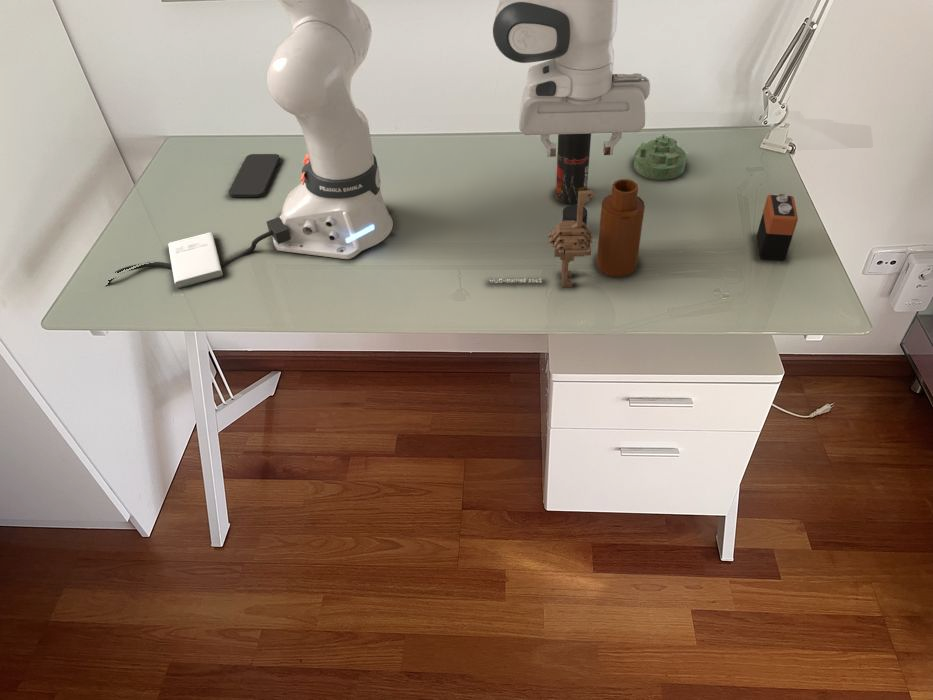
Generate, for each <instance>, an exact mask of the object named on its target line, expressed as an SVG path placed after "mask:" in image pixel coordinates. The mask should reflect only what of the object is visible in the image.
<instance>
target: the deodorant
mask: <svg viewBox="0 0 933 700" xmlns="http://www.w3.org/2000/svg"><path fill="white" fill-rule="evenodd" d="M591 140H592V133H591V134H557V153H556V179H555V180H556V184H555V198H556V200H557V201H558V202H560V203H561V204H564V205H568V206H569V205H578V191H586V190H588V183H589V181H588V180H589V167H590V156H591V154H590V153H591Z"/></svg>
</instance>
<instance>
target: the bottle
mask: <svg viewBox="0 0 933 700" xmlns="http://www.w3.org/2000/svg"><path fill="white" fill-rule="evenodd" d="M638 193H639V184H638V182H636V181H635V180H633V179H630V178H629V179H628V178H620V179H618V180H614V182H613V183H612V185H611V194H608V195H606V197H604V198H603V199H602V201H601V209H600V219H599V231H598V241H597V253H596V267H597V268H598V270H599V271H600V272H601V273H603V274H605V275H607V276H610V277H615V278H616V277H625V276H628V275H631V274H632V273H634V271H635V270H636V269H637V265H638V257H639V251H640V243H641V236H642V230H643V222H644V217H645V216H644V215H645V207H646V206H645V201H644V200H643V199H642V198H641V197H640V196H638Z"/></svg>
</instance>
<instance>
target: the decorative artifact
mask: <svg viewBox="0 0 933 700" xmlns="http://www.w3.org/2000/svg"><path fill="white" fill-rule="evenodd" d="M677 142H678V141H677V140H676V139H674V138H671V137H669V136H666V135H665V134H662V135H661V136H658V137H656V138H654V139H652V140H649V141H647V142H643V141H642V142H641V144H640V146H639V147H637V149H636V150H635V152H634V158H633V169H634V170H635V172H636V173H637V174H639V175H640V176H642V177H644V178H647V179H650V180H656V181H668V180H673V179H675V178H678V177H679V176H681V175H682V174H683V173H684V171H685V167H686V163H687V162H686V161H687V153H686V152H685V150H684V149H683V148H682V147H680V146H678V144H677Z"/></svg>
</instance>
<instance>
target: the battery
mask: <svg viewBox="0 0 933 700" xmlns="http://www.w3.org/2000/svg"><path fill="white" fill-rule="evenodd" d="M798 220H799V215H798V211H797V206H796V201H795V197H794V196H793V195H788V194H786V193H783V192H781V193H778V194H768V195H767V196H766V200H765V204H764V207H763V211H762V215H761V218H760V221H759V226H758V229H757V232H756V243H757V252H758V257H759V259H760V260H769V261H785V260H786V259H787V255H788V252H789V249H790V246H791V242H792V239H793V237H794V233H795V231H796V227H797V223H798Z"/></svg>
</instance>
